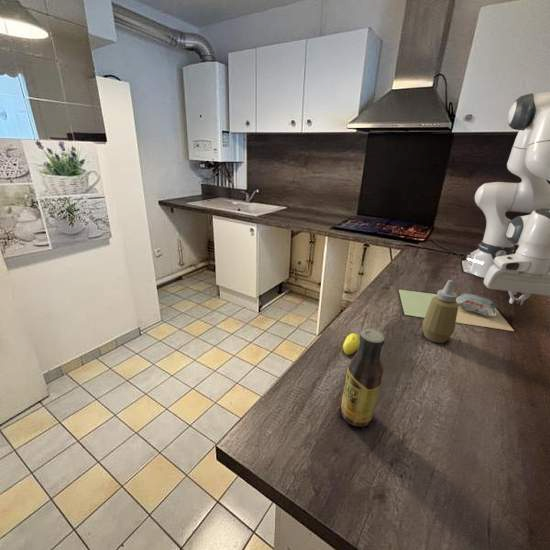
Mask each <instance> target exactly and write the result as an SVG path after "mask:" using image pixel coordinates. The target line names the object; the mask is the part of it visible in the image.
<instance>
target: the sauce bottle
mask: <svg viewBox="0 0 550 550" xmlns="http://www.w3.org/2000/svg"><path fill="white" fill-rule="evenodd" d="M359 337H360V338H359V339H360V344H359V348H358V349H357V351H356V352H355V354H354V356H353V357H352V359H351V360H350V362H349V363H348V365H347V369H346V376H345V381H344V386H343V391H342V398H341V405H340V407H341V409H340V413H341V416H342V418H343V419H344V420H345V421H346V422H347V424H349V425H350V426H354V427H359V428H362V427H366V426H368V425H369V424H370V423H371V422H372V421H373V417H374V413H375V409H376V405H377V401H378V397H379V393H380V389H381V385H382V379H383V374H384V365H383V363H382V359H381V353H382V348H383V346H384V344H385V340H386V338H385V335H384V334H383V333H382V332H381V331H379V330H377V329H375V328H365V329H363V330H362V331H361V332H360V334H359Z"/></svg>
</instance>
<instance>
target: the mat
mask: <svg viewBox="0 0 550 550" xmlns="http://www.w3.org/2000/svg"><path fill="white" fill-rule="evenodd" d="M398 293H399V297H400V301H401V305H402V309H403V314H404V316H410V317H416V318H423V319H424V317H425V315H426V312H427V310H428V307H429V305H430V302H431V300H432V298H433V297H435V296H437V293H429V292H422V291H415V290H405V289H398ZM458 301H459V298H458V296H457V298H456V302H458ZM494 310H495V311H496V312H495V313H496V315H495V316H487V315H482V314H478V313H475V312H471V311H468V310H464V309H461V308H459V307H458V311H457V317H456V323H457V324H463V325H470V326H476V327H481V328H489V329H496V330H501V331H509V332H515V330H514V329H513V327H512V326H511V325H510V324H509V323H508V321H507V320H506V319H505V318H504V316H502V314H501V313H500V311H498V309H497V308H494ZM456 323H455V324H456Z"/></svg>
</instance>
